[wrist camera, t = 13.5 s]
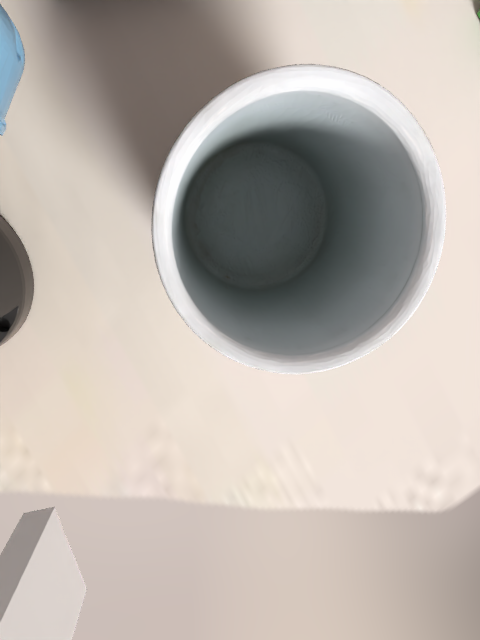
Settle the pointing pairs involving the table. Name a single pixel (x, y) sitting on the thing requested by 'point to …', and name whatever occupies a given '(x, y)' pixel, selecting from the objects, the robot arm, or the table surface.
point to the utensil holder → (299, 219)
